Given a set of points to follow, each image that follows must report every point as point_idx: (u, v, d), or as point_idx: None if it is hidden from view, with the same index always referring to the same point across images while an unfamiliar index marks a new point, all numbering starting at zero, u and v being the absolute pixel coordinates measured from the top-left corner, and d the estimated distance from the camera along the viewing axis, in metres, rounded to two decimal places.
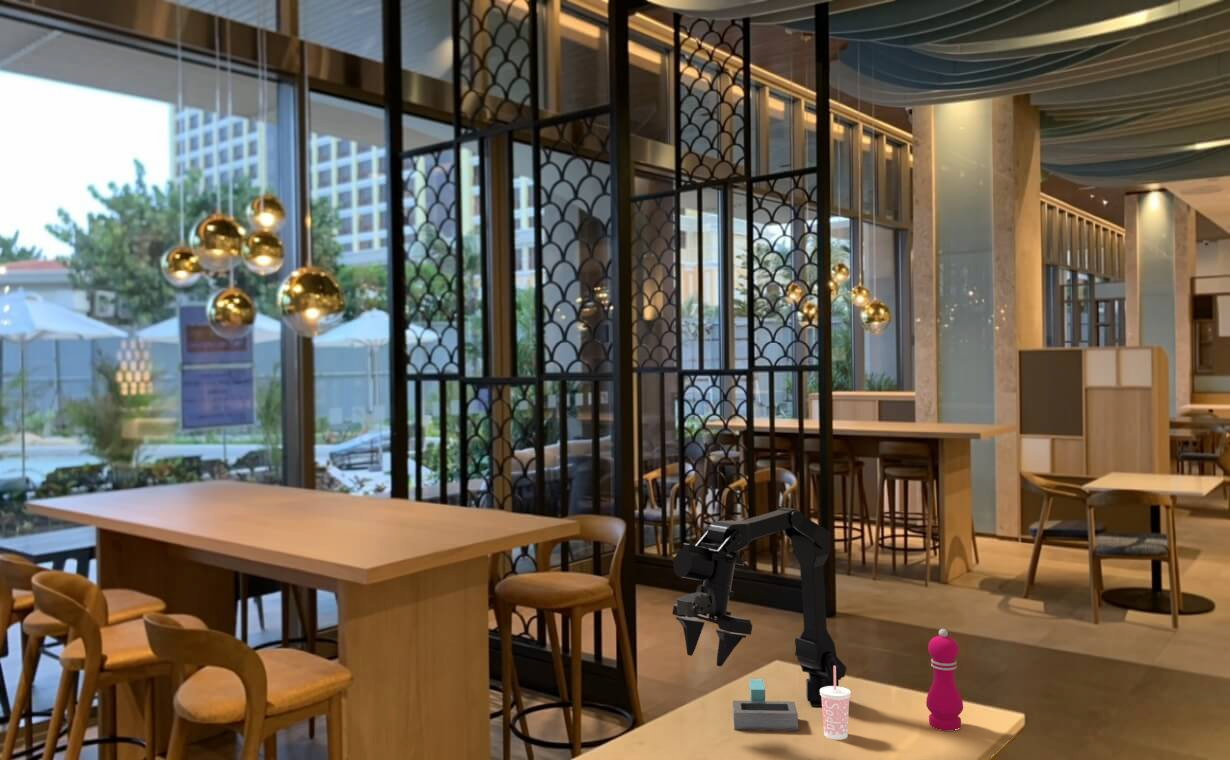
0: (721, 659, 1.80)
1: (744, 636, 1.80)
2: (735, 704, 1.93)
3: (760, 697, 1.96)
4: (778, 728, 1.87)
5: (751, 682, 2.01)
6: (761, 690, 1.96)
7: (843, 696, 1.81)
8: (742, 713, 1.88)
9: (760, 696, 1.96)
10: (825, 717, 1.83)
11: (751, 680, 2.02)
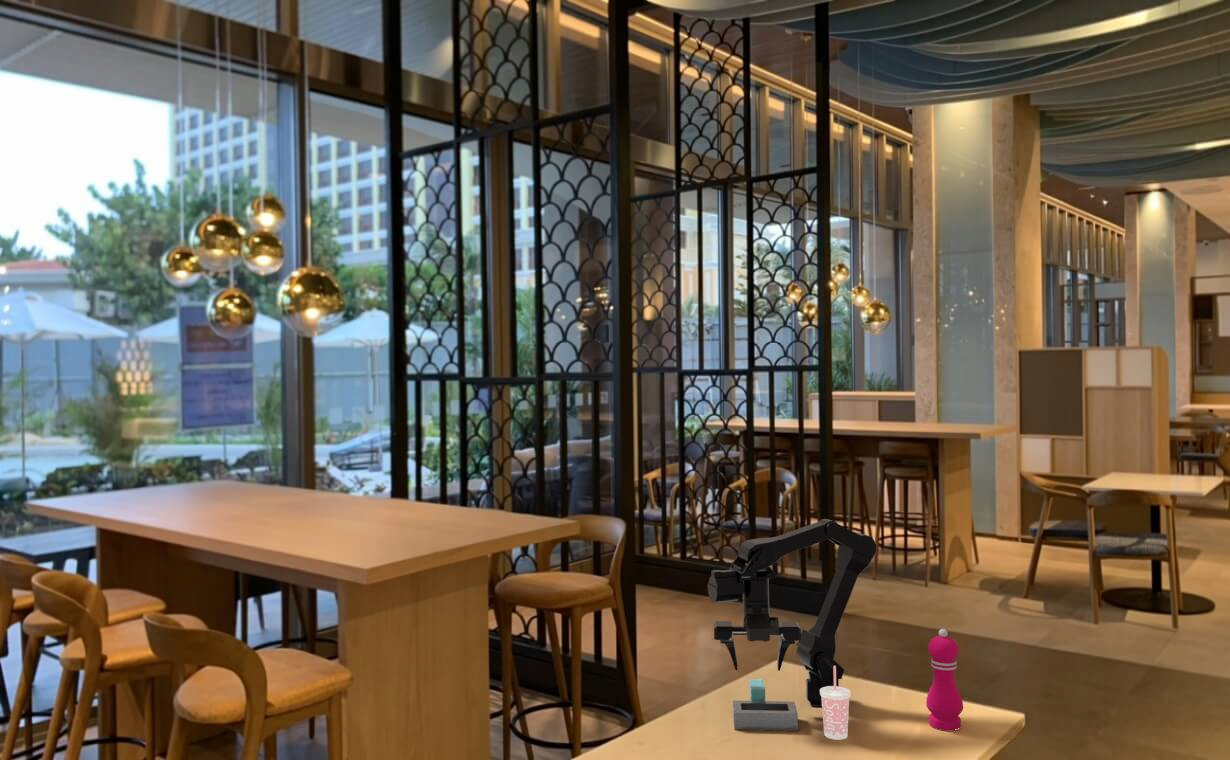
0: (781, 663, 1.99)
1: None
2: (735, 704, 1.93)
3: (760, 697, 1.96)
4: (778, 728, 1.87)
5: (751, 682, 2.01)
6: (761, 690, 1.96)
7: (843, 696, 1.81)
8: (742, 713, 1.88)
9: (760, 696, 1.96)
10: (825, 717, 1.83)
11: (751, 680, 2.02)
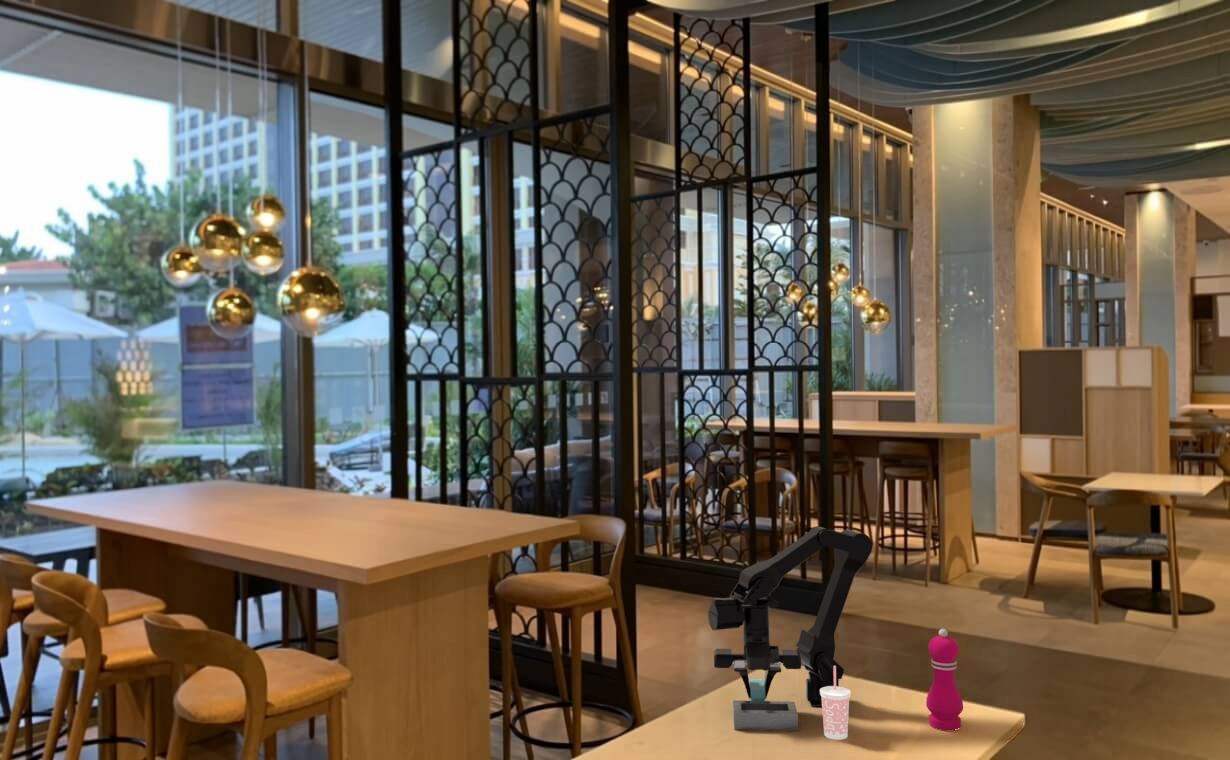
0: (767, 691, 1.99)
1: None
2: (735, 704, 1.93)
3: (760, 697, 1.96)
4: (778, 728, 1.87)
5: (751, 682, 2.01)
6: (761, 690, 1.96)
7: (843, 696, 1.81)
8: (742, 713, 1.88)
9: (760, 696, 1.96)
10: (825, 717, 1.83)
11: (751, 680, 2.02)
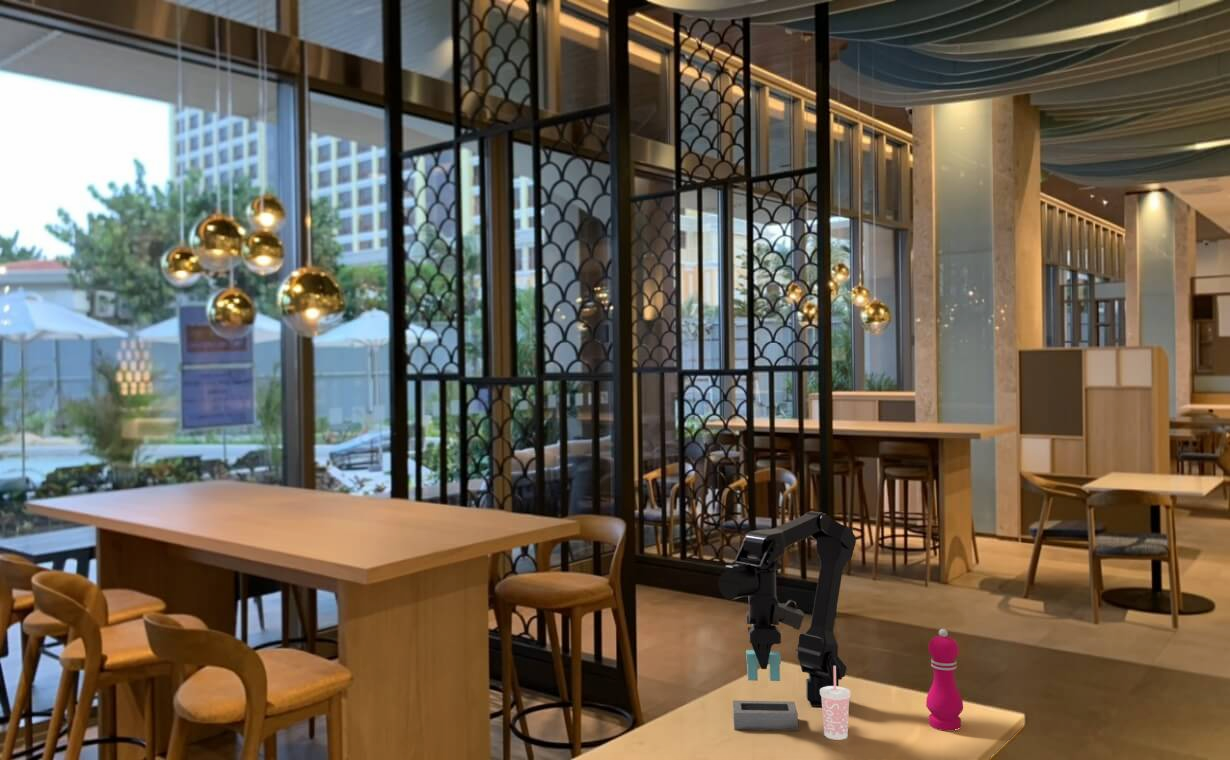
0: None
1: None
2: (735, 704, 1.93)
3: None
4: (778, 728, 1.87)
5: None
6: (779, 652, 1.91)
7: (843, 696, 1.81)
8: (742, 713, 1.88)
9: None
10: (825, 717, 1.83)
11: (750, 653, 1.90)
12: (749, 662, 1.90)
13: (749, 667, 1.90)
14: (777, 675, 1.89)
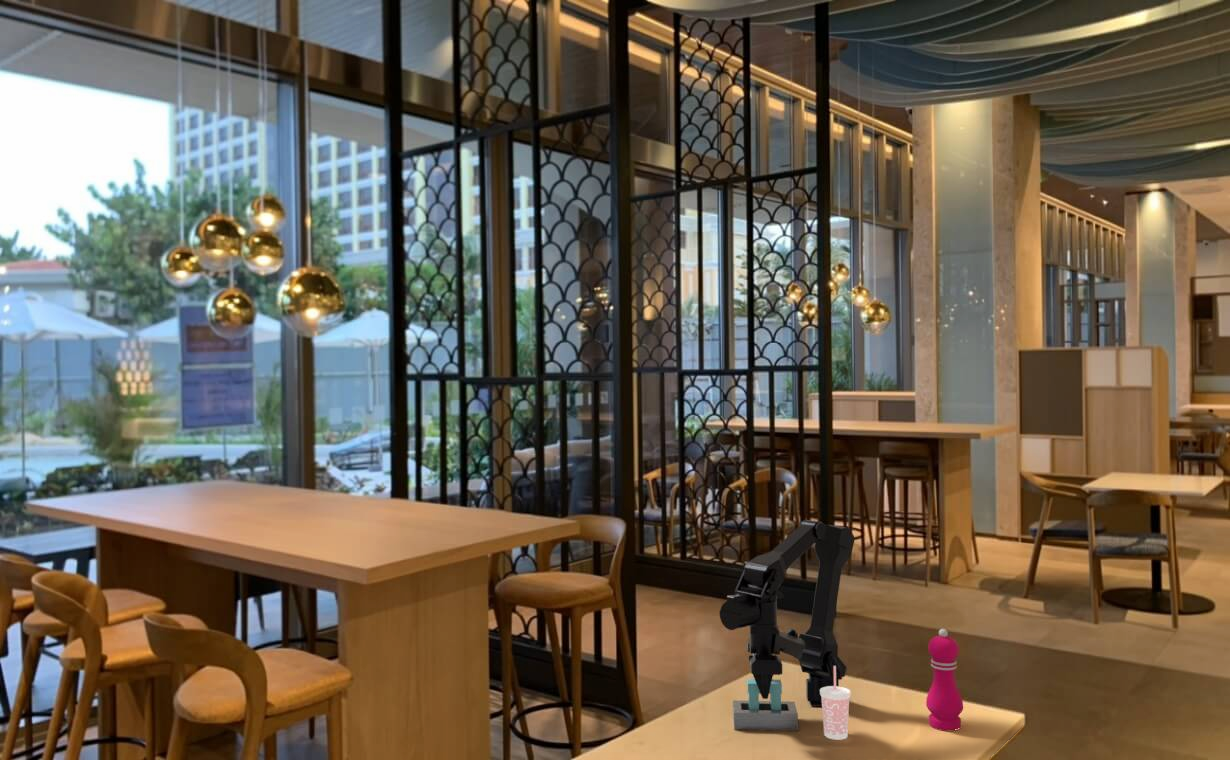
0: None
1: None
2: (735, 704, 1.93)
3: None
4: (778, 728, 1.87)
5: None
6: (780, 681, 1.91)
7: (843, 696, 1.81)
8: (742, 713, 1.88)
9: None
10: (825, 717, 1.83)
11: (751, 683, 1.90)
12: (750, 691, 1.90)
13: (750, 696, 1.90)
14: (778, 705, 1.89)
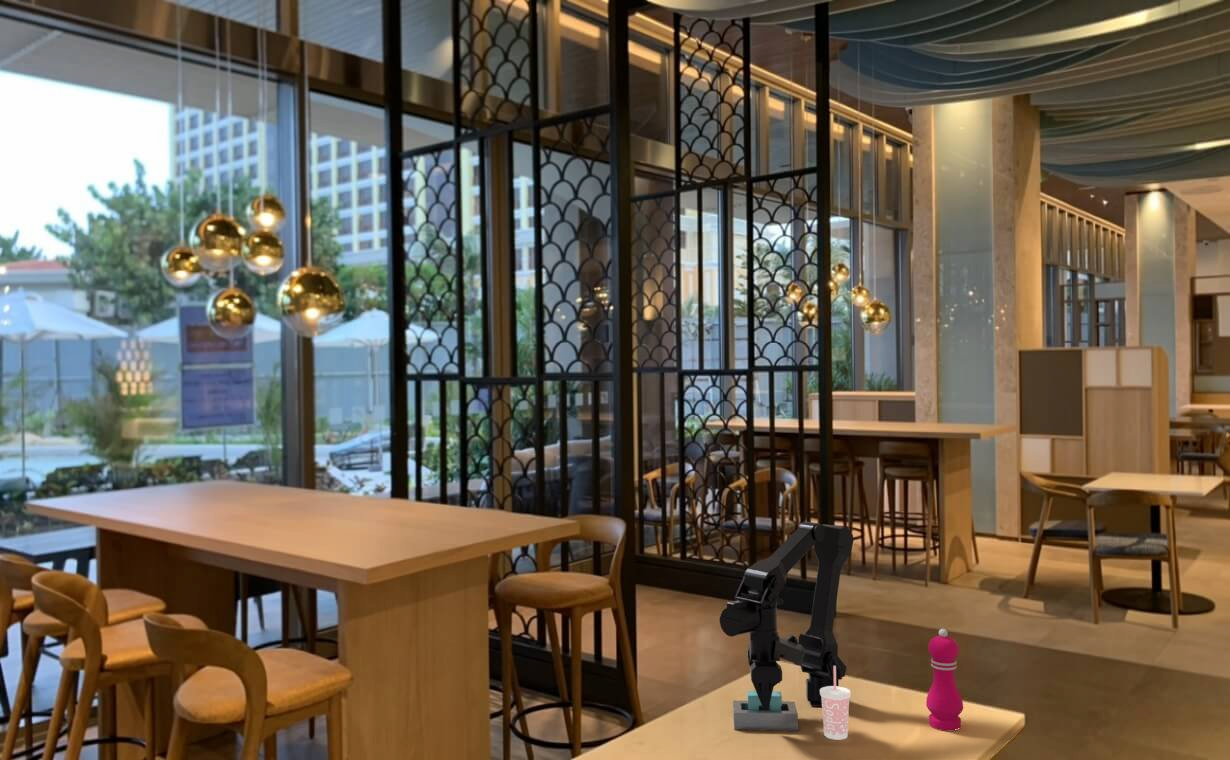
0: None
1: None
2: (735, 704, 1.93)
3: None
4: (778, 728, 1.87)
5: None
6: (780, 693, 1.91)
7: (843, 696, 1.81)
8: (742, 713, 1.88)
9: None
10: (825, 717, 1.83)
11: (751, 695, 1.90)
12: (750, 703, 1.90)
13: (750, 708, 1.90)
14: None
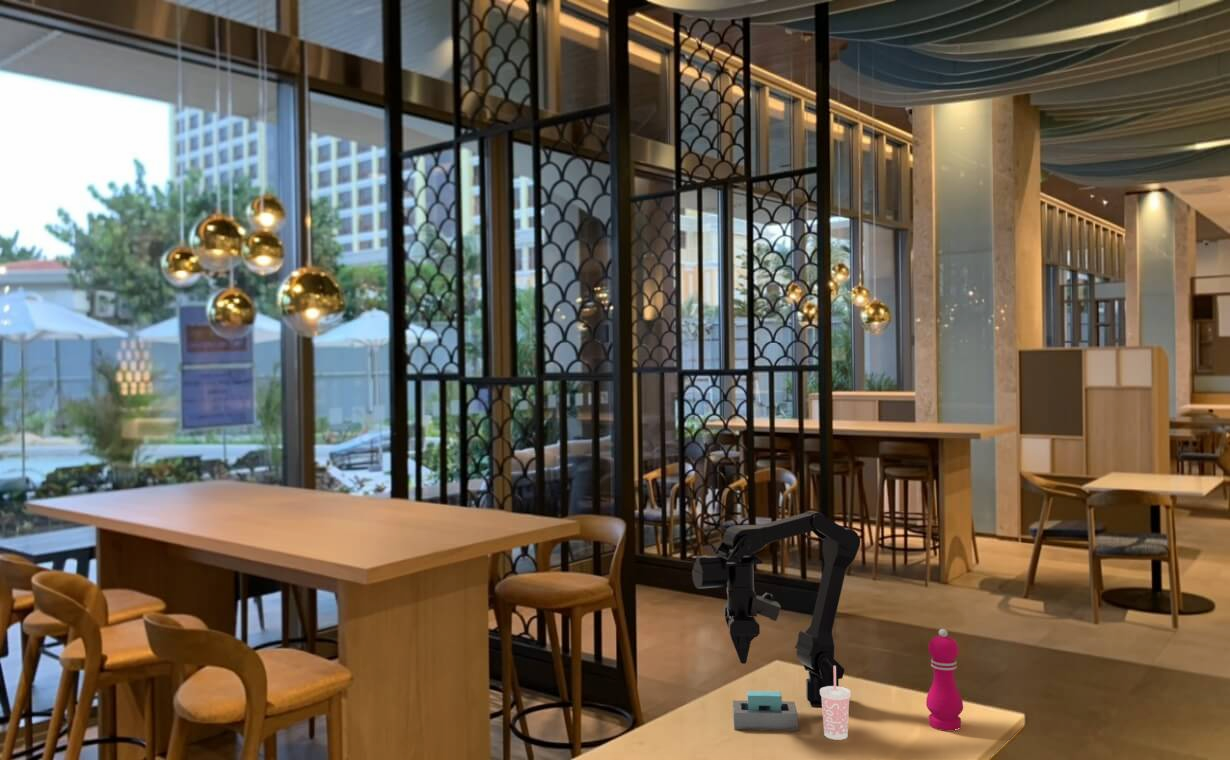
0: None
1: None
2: (735, 704, 1.93)
3: None
4: (778, 728, 1.87)
5: (758, 695, 1.90)
6: (780, 693, 1.91)
7: (843, 696, 1.81)
8: (742, 713, 1.88)
9: None
10: (825, 717, 1.83)
11: (751, 695, 1.90)
12: (750, 703, 1.90)
13: (750, 708, 1.90)
14: None
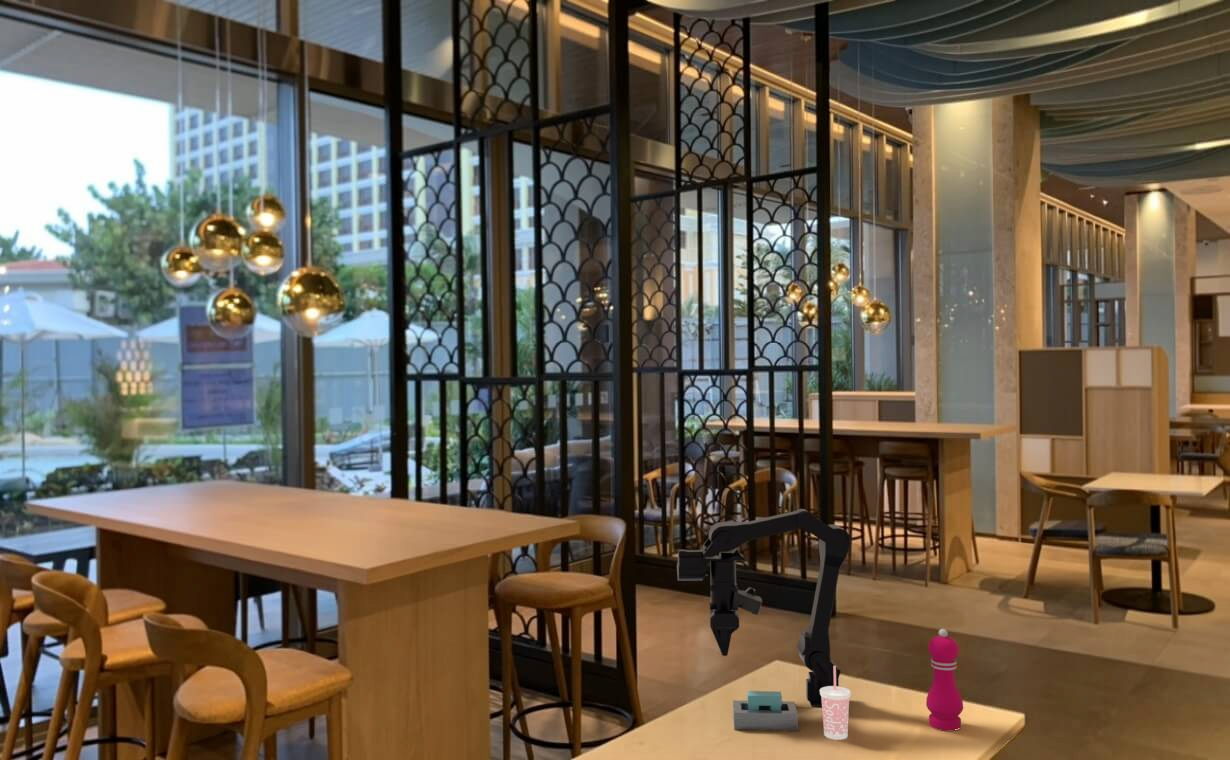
0: None
1: None
2: (735, 704, 1.93)
3: None
4: (778, 728, 1.87)
5: (758, 695, 1.90)
6: (780, 693, 1.91)
7: (843, 696, 1.81)
8: (742, 713, 1.88)
9: None
10: (825, 717, 1.83)
11: (751, 695, 1.90)
12: (750, 703, 1.90)
13: (750, 708, 1.90)
14: None
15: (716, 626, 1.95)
